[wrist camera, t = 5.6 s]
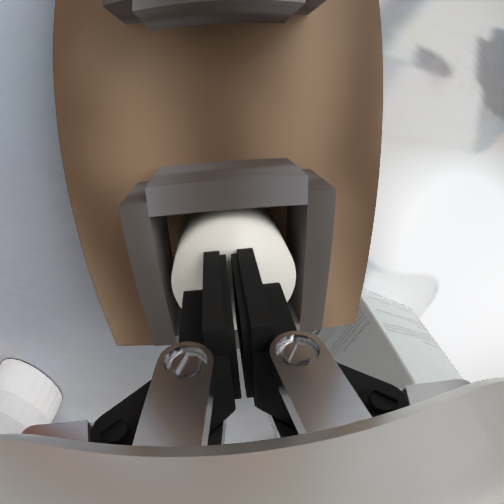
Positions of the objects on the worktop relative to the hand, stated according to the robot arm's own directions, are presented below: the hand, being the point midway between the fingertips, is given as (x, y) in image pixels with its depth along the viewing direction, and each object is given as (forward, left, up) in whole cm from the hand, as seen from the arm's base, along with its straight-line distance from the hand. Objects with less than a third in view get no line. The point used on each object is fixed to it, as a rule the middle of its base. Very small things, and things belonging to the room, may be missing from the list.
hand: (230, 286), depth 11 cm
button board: (0, -13, -7) cm, 15 cm away
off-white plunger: (0, 0, -3) cm, 3 cm away
